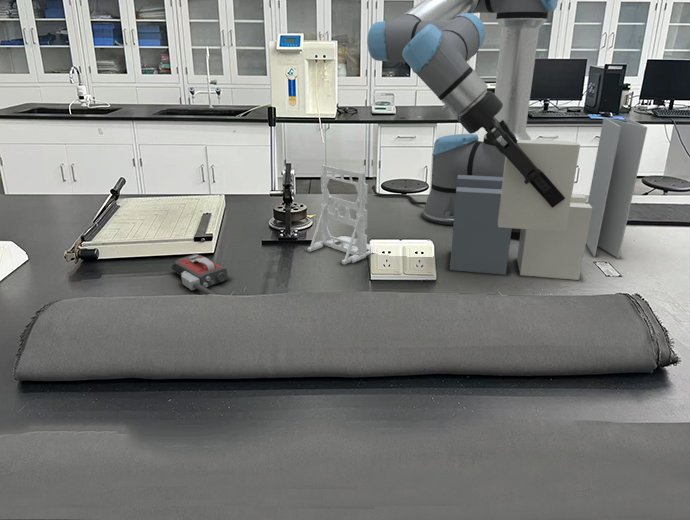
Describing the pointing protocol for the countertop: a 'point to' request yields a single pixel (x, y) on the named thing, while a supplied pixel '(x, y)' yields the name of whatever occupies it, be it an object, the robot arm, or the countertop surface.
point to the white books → (556, 245)
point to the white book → (525, 201)
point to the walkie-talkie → (199, 272)
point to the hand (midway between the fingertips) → (556, 199)
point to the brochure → (614, 183)
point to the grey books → (479, 227)
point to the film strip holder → (360, 224)
